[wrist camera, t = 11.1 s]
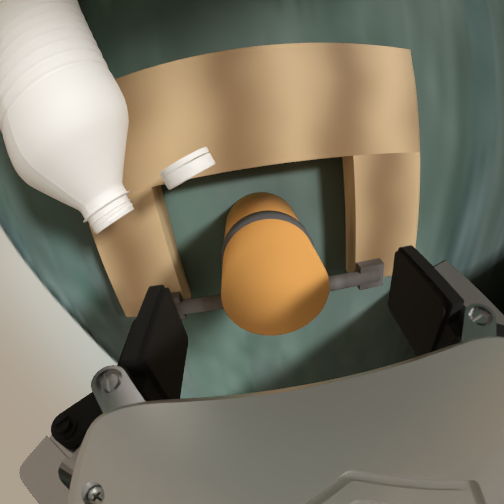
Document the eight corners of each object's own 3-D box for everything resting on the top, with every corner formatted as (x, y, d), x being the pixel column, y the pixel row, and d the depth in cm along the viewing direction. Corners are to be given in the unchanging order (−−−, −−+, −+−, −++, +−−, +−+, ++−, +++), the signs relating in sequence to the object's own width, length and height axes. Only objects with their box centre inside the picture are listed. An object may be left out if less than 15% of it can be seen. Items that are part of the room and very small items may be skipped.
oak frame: (394, 53, 14) (419, 47, 12) (400, 259, 22) (419, 279, 19) (73, 102, 15) (49, 103, 12) (133, 303, 22) (123, 327, 19)
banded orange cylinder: (293, 185, 19) (330, 234, 11) (300, 253, 21) (331, 326, 14) (217, 197, 19) (207, 253, 12) (231, 264, 21) (230, 343, 14)
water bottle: (-2, -4, 8) (90, 241, 16) (-38, -30, 2) (41, 279, 10) (84, -64, 8) (213, 165, 16) (65, -104, 2) (220, 161, 10)
